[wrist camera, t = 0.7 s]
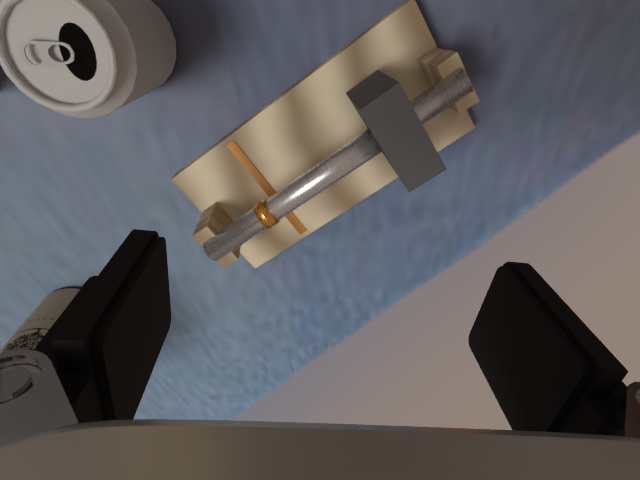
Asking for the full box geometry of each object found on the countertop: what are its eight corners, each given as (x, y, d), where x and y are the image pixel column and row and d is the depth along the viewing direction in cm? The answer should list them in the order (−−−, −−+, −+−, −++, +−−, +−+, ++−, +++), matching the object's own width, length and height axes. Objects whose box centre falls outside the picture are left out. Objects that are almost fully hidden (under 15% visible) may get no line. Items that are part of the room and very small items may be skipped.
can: (187, 90, 34) (141, 122, 23) (96, 92, 33) (8, 127, 23) (169, -15, 30) (104, -32, 19) (67, -13, 29) (-55, -30, 19)
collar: (377, 69, 31) (399, 82, 25) (418, 141, 34) (446, 169, 28) (345, 92, 32) (359, 110, 26) (388, 161, 35) (409, 192, 29)
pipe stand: (408, -2, 31) (434, -6, 26) (468, 123, 37) (501, 143, 31) (175, 174, 37) (154, 202, 31) (256, 260, 42) (251, 298, 37)
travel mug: (115, 347, 47) (28, 513, 31) (42, 333, 45) (-89, 501, 29) (123, 295, 43) (29, 453, 28) (43, 278, 42) (-105, 436, 26)
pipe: (452, 63, 29) (464, 67, 27) (465, 91, 30) (477, 96, 28) (204, 235, 34) (199, 248, 32) (222, 253, 35) (218, 267, 33)
